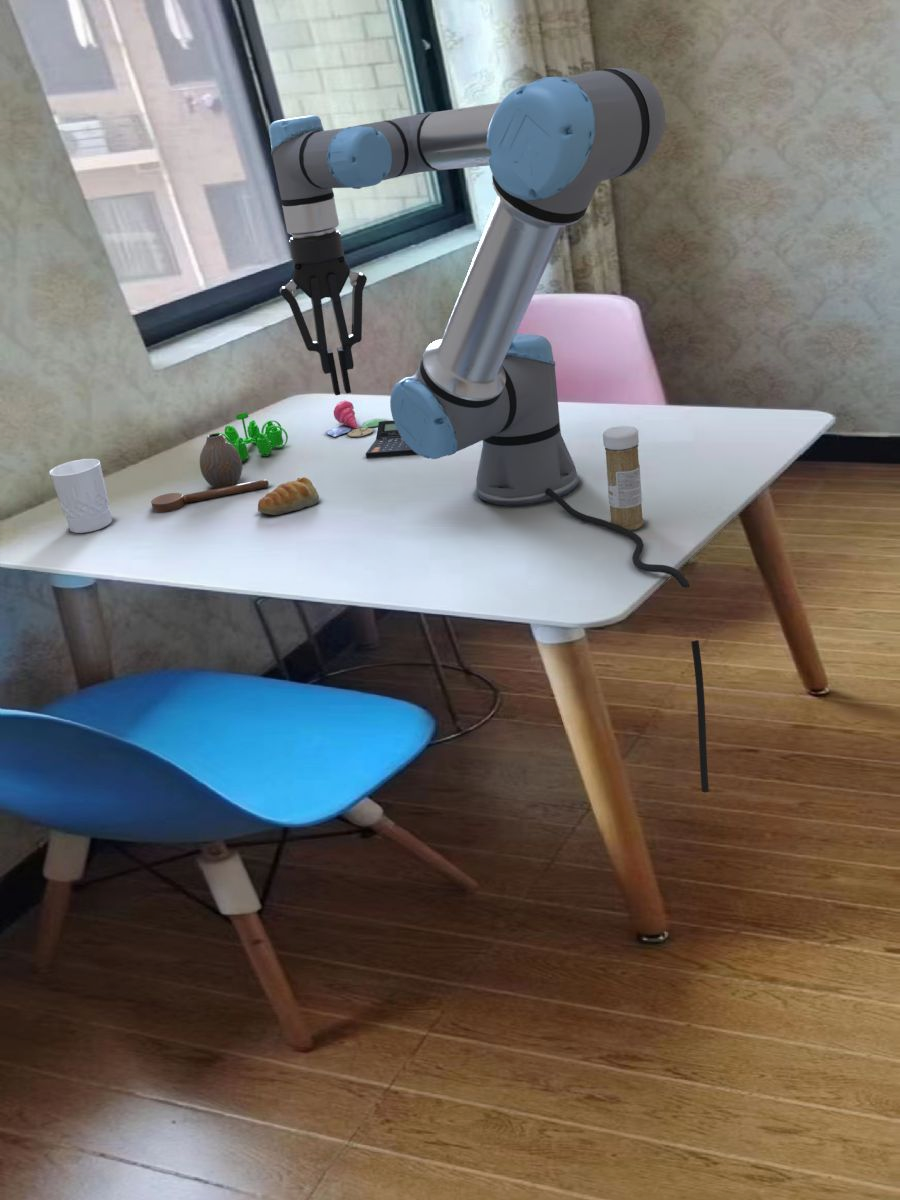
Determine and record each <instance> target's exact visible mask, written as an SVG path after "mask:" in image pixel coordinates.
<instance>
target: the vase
mask: <svg viewBox="0 0 900 1200" xmlns="http://www.w3.org/2000/svg"><path fill="white" fill-rule="evenodd" d="M221 433H222V432H221ZM221 433H216V432H213V433H210V434H208V435H207V436H206V441H205V443H204V444H203V447H202V449H201V452H200V455H199V467H200V472H201V474H202V477H203V479H204V480H205V482H206V483H207V484H208V485H210V486H211V487H213V488H214V489H218V488H223V487H228V486H233V485H237V483H238V482H239V480H240V479H241V476H242V473H243V462H241V458H240V455H239V453H238V451H237V450H236V448H235V447H234V446H233V445H232V444H231V443H230V442H228V441H227V440H226V439H225V438H226V437H225V436H223V435H222V434H221Z"/></svg>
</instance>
